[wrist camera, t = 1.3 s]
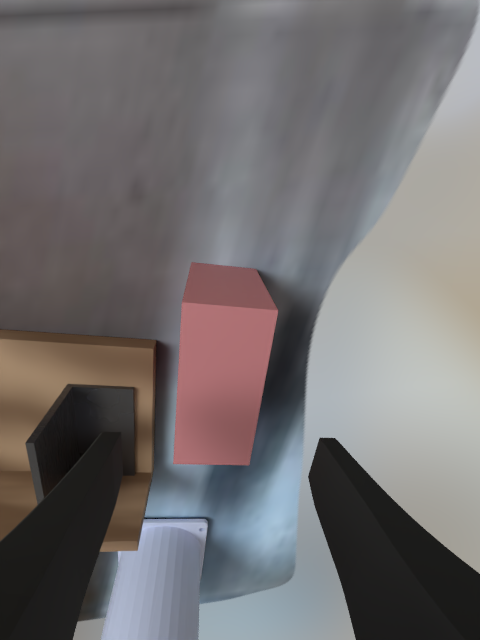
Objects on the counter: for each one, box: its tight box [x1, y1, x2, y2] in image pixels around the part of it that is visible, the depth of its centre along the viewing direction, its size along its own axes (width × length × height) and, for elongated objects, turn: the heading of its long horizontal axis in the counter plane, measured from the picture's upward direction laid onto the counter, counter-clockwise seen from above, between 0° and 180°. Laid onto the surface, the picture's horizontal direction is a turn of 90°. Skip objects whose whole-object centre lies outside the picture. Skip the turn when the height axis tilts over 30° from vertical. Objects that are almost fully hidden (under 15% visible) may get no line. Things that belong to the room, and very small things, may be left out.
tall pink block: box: [173, 262, 278, 465], centre depth 18 cm, size 9×4×7 cm, turn 173°
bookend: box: [25, 384, 135, 504], centre depth 19 cm, size 8×4×5 cm, turn 173°
